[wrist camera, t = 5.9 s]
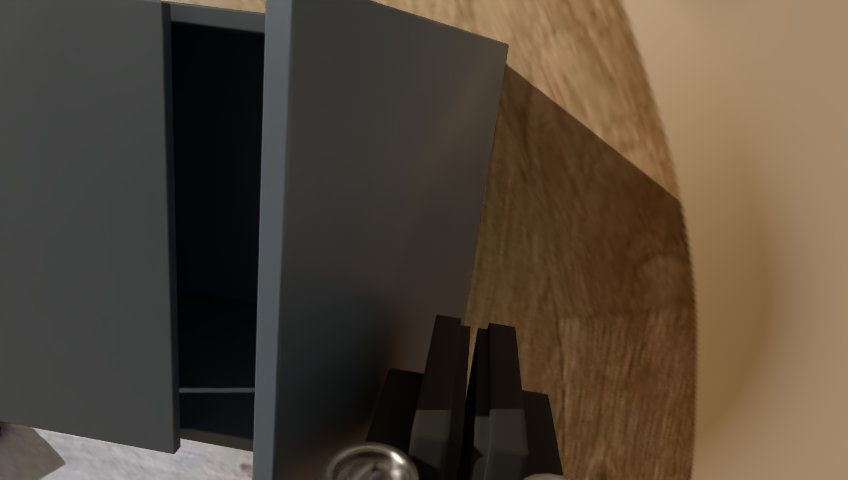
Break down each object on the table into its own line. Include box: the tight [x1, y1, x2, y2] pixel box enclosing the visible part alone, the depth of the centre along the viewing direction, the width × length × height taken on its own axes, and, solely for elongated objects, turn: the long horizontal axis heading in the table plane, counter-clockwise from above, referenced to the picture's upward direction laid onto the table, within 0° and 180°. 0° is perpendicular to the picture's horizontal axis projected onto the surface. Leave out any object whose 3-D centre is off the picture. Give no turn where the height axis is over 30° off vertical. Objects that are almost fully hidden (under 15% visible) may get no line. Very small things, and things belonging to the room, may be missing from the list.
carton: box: [0, 0, 266, 454], centre depth 21 cm, size 17×14×11 cm
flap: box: [252, 0, 509, 480], centre depth 11 cm, size 8×14×1 cm
